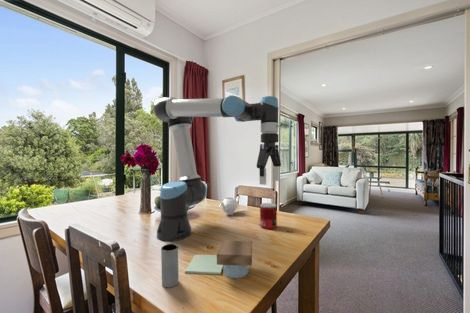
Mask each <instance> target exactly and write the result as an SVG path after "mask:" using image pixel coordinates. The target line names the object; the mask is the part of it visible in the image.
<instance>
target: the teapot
mask: <svg viewBox="0 0 470 313" xmlns="http://www.w3.org/2000/svg"><path fill="white" fill-rule="evenodd" d="M240 198H241V196H240V195H237V196H236V198H235V197H225V198H223V201H221V202H220V204H219V206H218V207H221V208H222V211H223V212H224V213H225V214H226V215H234V214H235V211H236V210H237V209H238V206H239V202H240Z"/></svg>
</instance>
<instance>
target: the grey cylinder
mask: <svg viewBox="0 0 470 313" xmlns="http://www.w3.org/2000/svg"><path fill="white" fill-rule="evenodd" d="M160 254H161V257H160V259H161V286H162V287H164V288H166V287H167V288H173V287H175V286H177V285H178V284H179V279H180V278H179V246H178V245H177V243H167V244H164V245H162V246H161V253H160Z"/></svg>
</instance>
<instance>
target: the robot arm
mask: <svg viewBox="0 0 470 313" xmlns="http://www.w3.org/2000/svg"><path fill="white" fill-rule="evenodd" d="M153 113H154V115H155V117H156V118H157V119H158V120H160V122H164V123H168V124H167V125H168V129H169V130H170V131H171V132H172V136H173V141H174V148H175V153H176V160H177V165H178V171H179V179H178V180H177V181H173V182H172V181H171V182H170V181H169V182H167V183H164V184H163V185H161V187H160V192H159V200H160V201H159V202H160V203H159V204H160V221H159V224H158V227H157V230H156V238H157V239H158V240H160V241H167V242H169V241H178V240H183V239H185V238H188V237H190V236H191V234H192V227H191V223H190V221H189V218H188V208H189V207H191V206H196V205H198V204H200V203H201V202H203V201H204V200H205V199H206V197H207V194H208V188H207V185H206V184H205V183H204V181H202V179H201V178H202V177H201V175H199V174H198V173H197V167H196V161H195V155H194V149H193V143H192V137H191V130H190V129H191V128H192V126H193V125H192V123H193V120H194V118H195V117H196V118H197V117H200V118H203V117H204V118H205V117H206V118H207V117H208V118H209V117H213V118H216V117H217V118H218V117H219V118H220V117H221V118H223V117H225V118H234V120H235V121H236V122H238V123H239V122H240V123H241V122H242V123H245V122H255V121H260V133H261V134H260V142H261V143H260V144H259V152H258V157H257V161H256V168H257V169H259V172H258V173H259V185H264V186H266V185H267V168H266V167H267V164H268V161H269V158H270V159H271V161H272V162H271V163H272V165H273V166H272V181H273V182H279V181H280V167H282V164H281V163H282V162H281V157H280V152H279V145H278V144H276V143H278V142H279V133H278V132H279V128H280V125H279V99H278V97H276V96H273V95H269V96H268V95H266V96H262V97H261V98H260V101H259V102H256V103H249V102H248V101H245V100H243V99H242V98H241V97H239V96H238V95H228V96H227V97H221V98H219V97H218V98H217V97H216V98H215V97H214V98H212V97H211V98H183V99H180V98H179V99H178V98H176V97H174V96H173V97H172V96H171V97H167V96H164V97H160V98H158V99H157V100H156V101H155V102H154V105H153Z"/></svg>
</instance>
